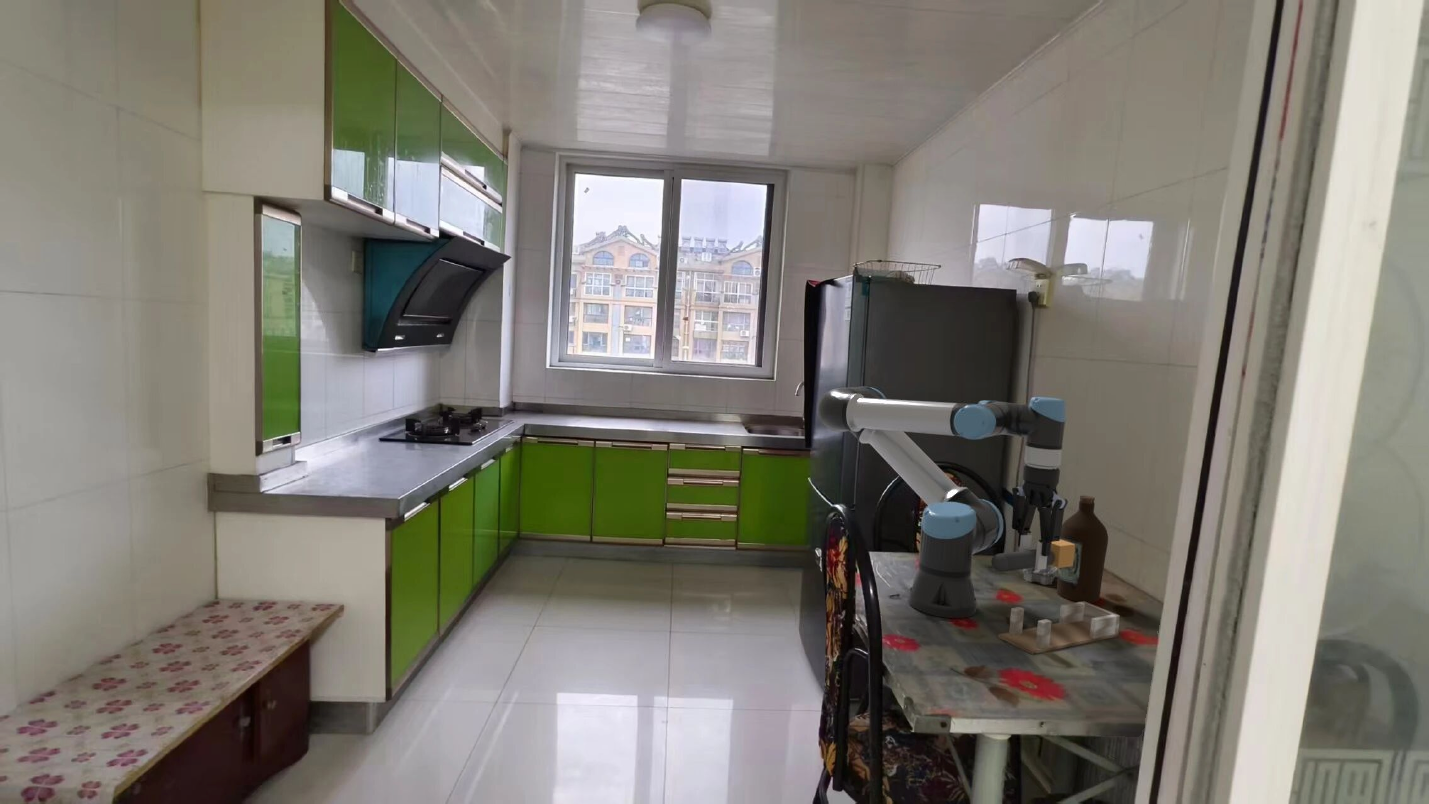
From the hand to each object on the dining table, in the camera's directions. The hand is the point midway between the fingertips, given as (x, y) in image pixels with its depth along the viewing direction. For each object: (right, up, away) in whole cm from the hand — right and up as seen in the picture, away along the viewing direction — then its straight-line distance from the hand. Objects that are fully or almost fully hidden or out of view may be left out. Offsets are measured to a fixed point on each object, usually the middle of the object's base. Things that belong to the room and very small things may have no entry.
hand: (1032, 565), depth 166 cm
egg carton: (+13, -9, +25) cm, 29 cm away
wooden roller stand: (0, -12, -13) cm, 18 cm away
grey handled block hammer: (-1, 0, 0) cm, 1 cm away
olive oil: (+16, -11, +12) cm, 23 cm away
